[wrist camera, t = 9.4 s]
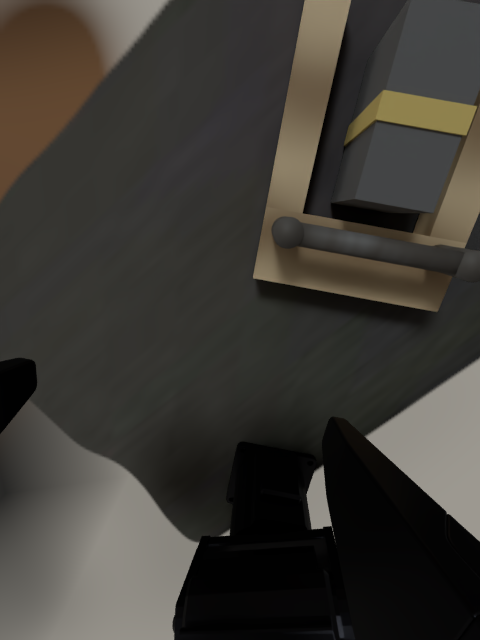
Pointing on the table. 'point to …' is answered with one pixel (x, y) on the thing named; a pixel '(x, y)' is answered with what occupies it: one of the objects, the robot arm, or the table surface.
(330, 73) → the wooden u-shaped holder
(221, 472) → the table surface
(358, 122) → the banded grey block
